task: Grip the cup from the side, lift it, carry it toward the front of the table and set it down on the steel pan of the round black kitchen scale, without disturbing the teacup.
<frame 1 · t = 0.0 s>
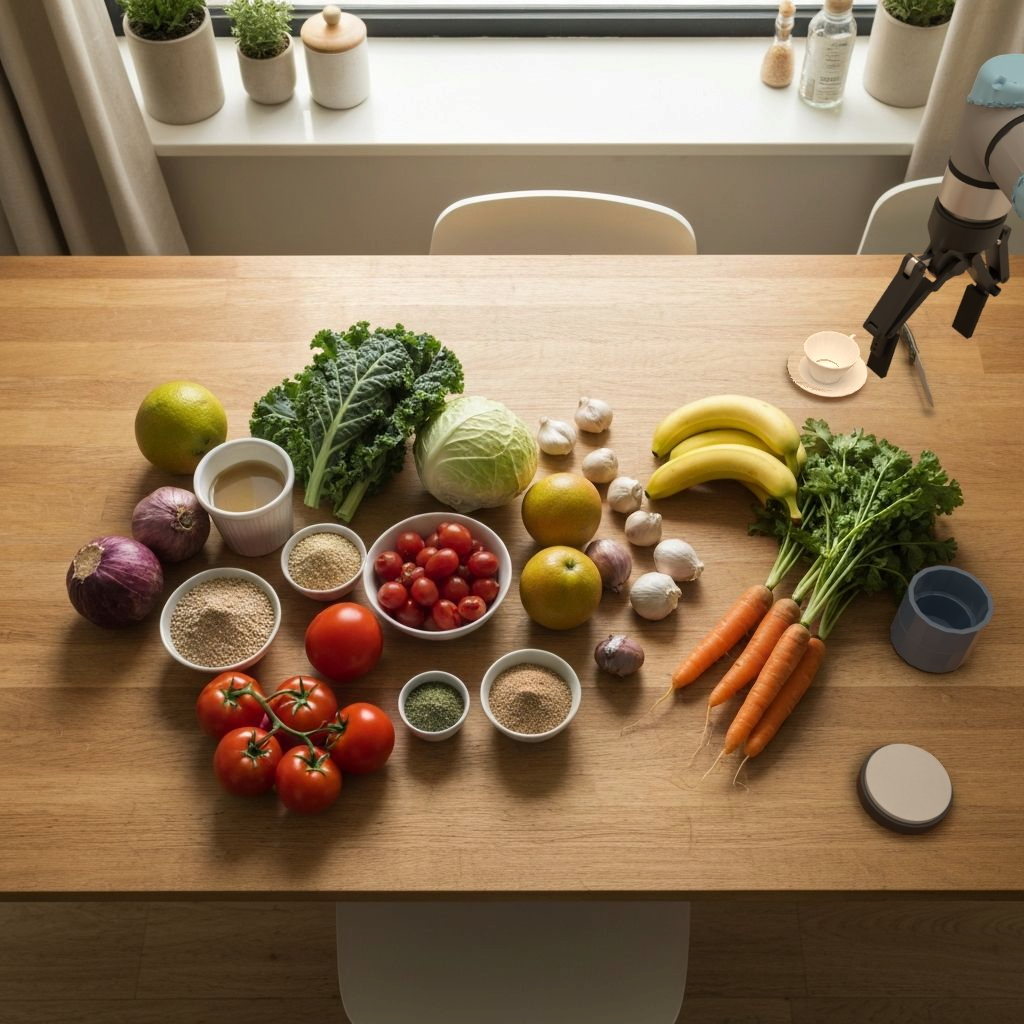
hand: (919, 351, 131), 25 cm above the table, tool pointing down, fingers open, 13 cm apart
teacup: (824, 376, 164), on the table
cup: (928, 641, 134), on the table
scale: (901, 792, 122), on the table
knife: (913, 370, 165), on the table
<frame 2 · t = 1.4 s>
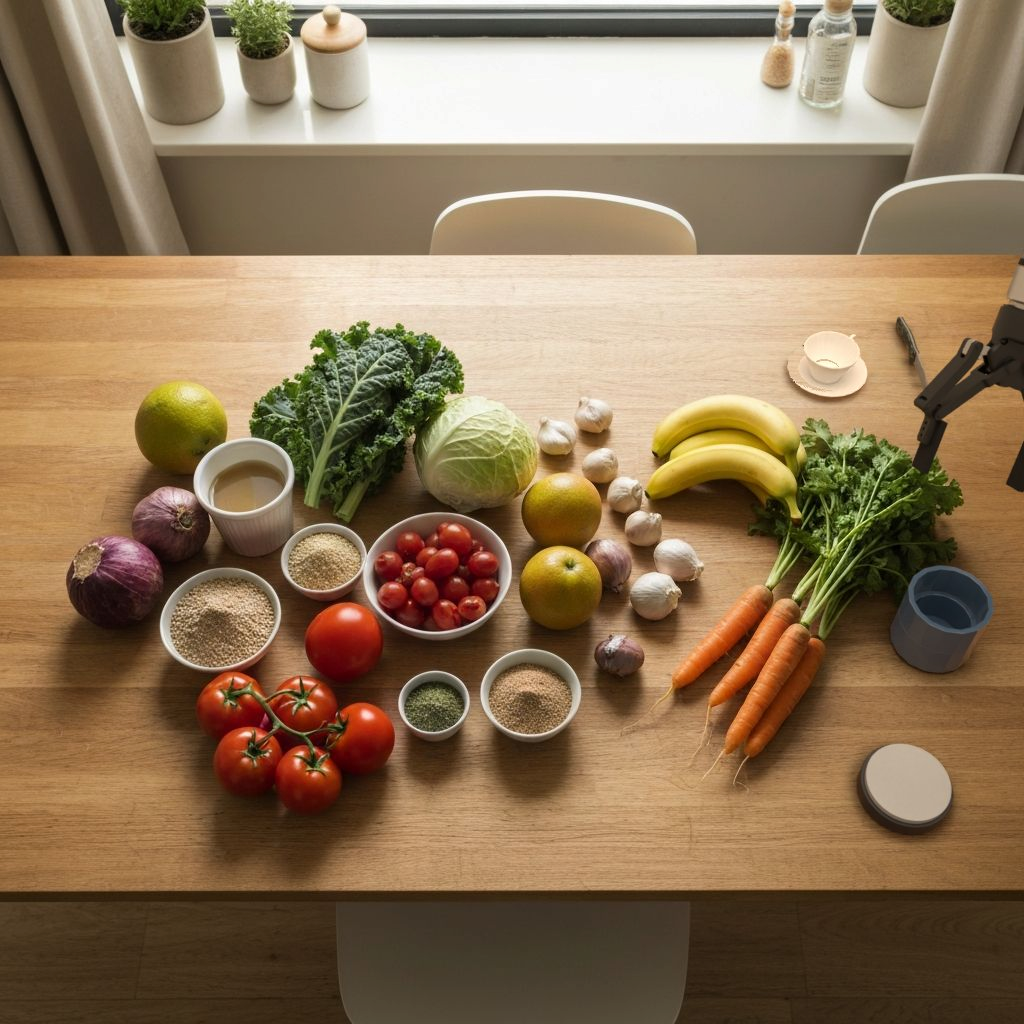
hand: (967, 479, 132), 14 cm above the table, tool tilted 35°, fingers open, 13 cm apart
nothing on the table moved.
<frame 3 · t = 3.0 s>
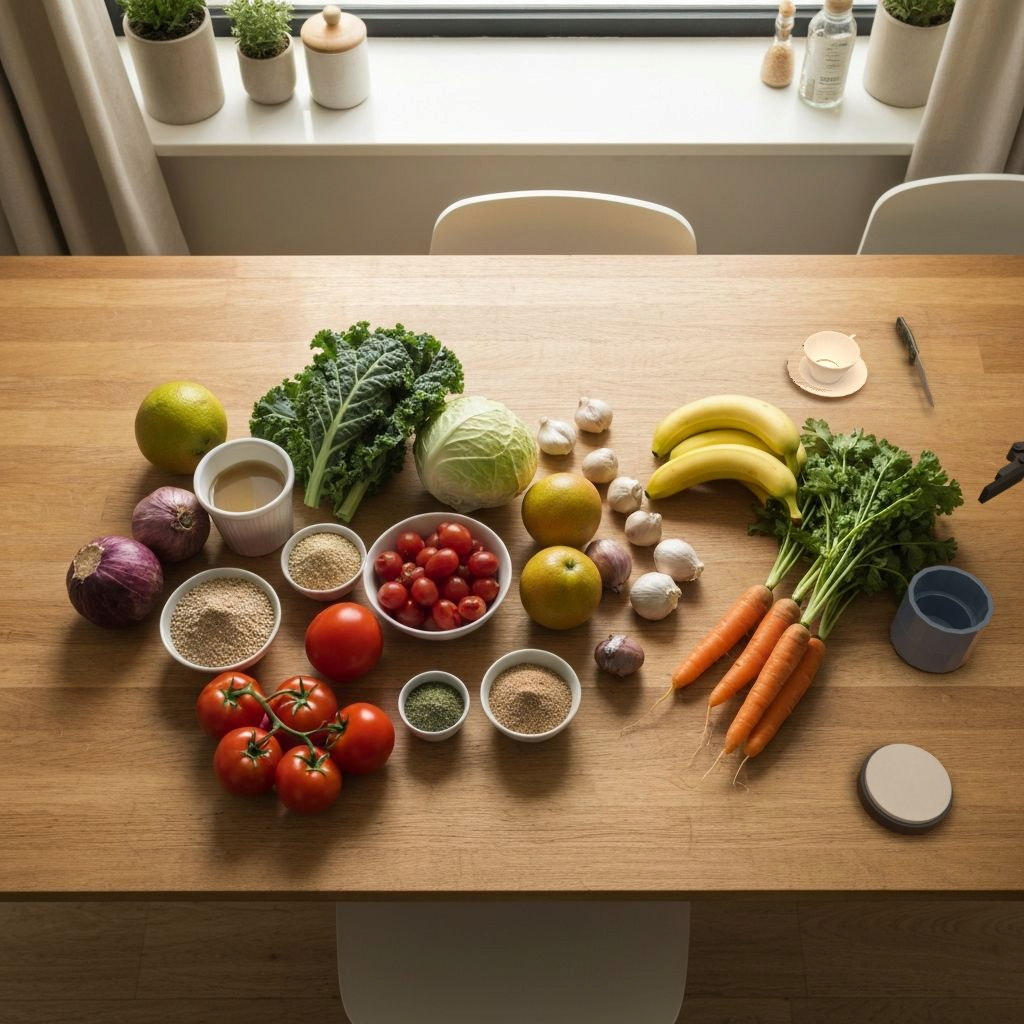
nothing on the table moved.
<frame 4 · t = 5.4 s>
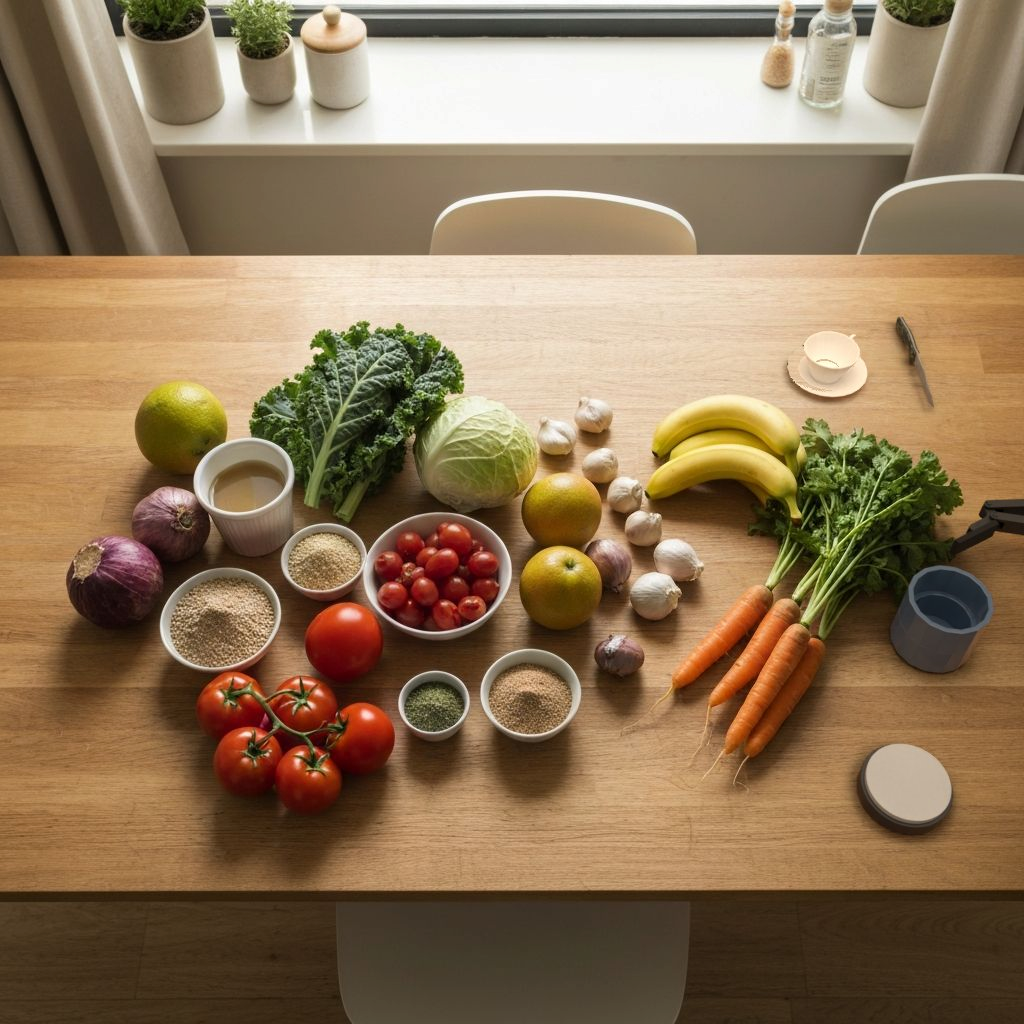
hand: (992, 587, 131), 6 cm above the table, tool horizontal, fingers open, 13 cm apart
nothing on the table moved.
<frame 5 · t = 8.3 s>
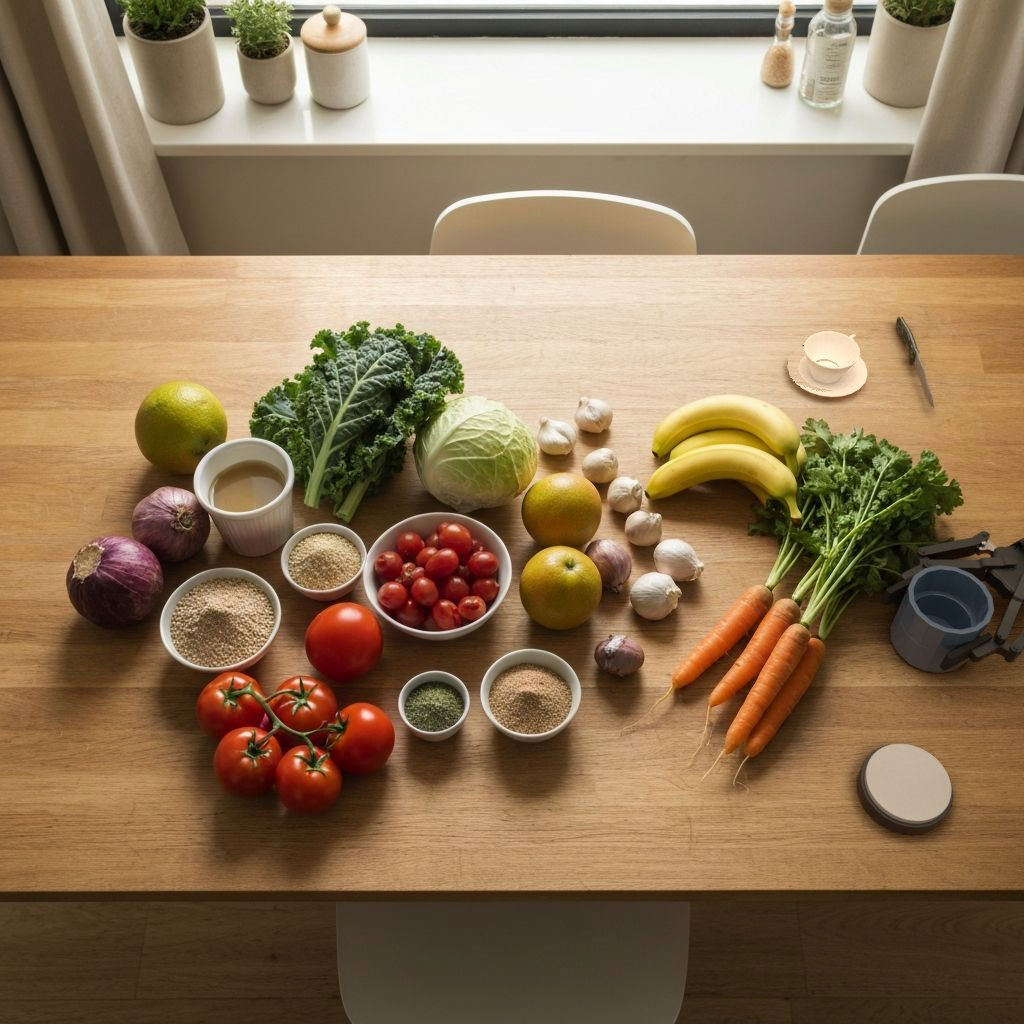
hand: (914, 629, 128), 6 cm above the table, tool horizontal, fingers closed on cup, 10 cm apart
cup: (928, 641, 134), on the table, touching gripper
everything else where it was.
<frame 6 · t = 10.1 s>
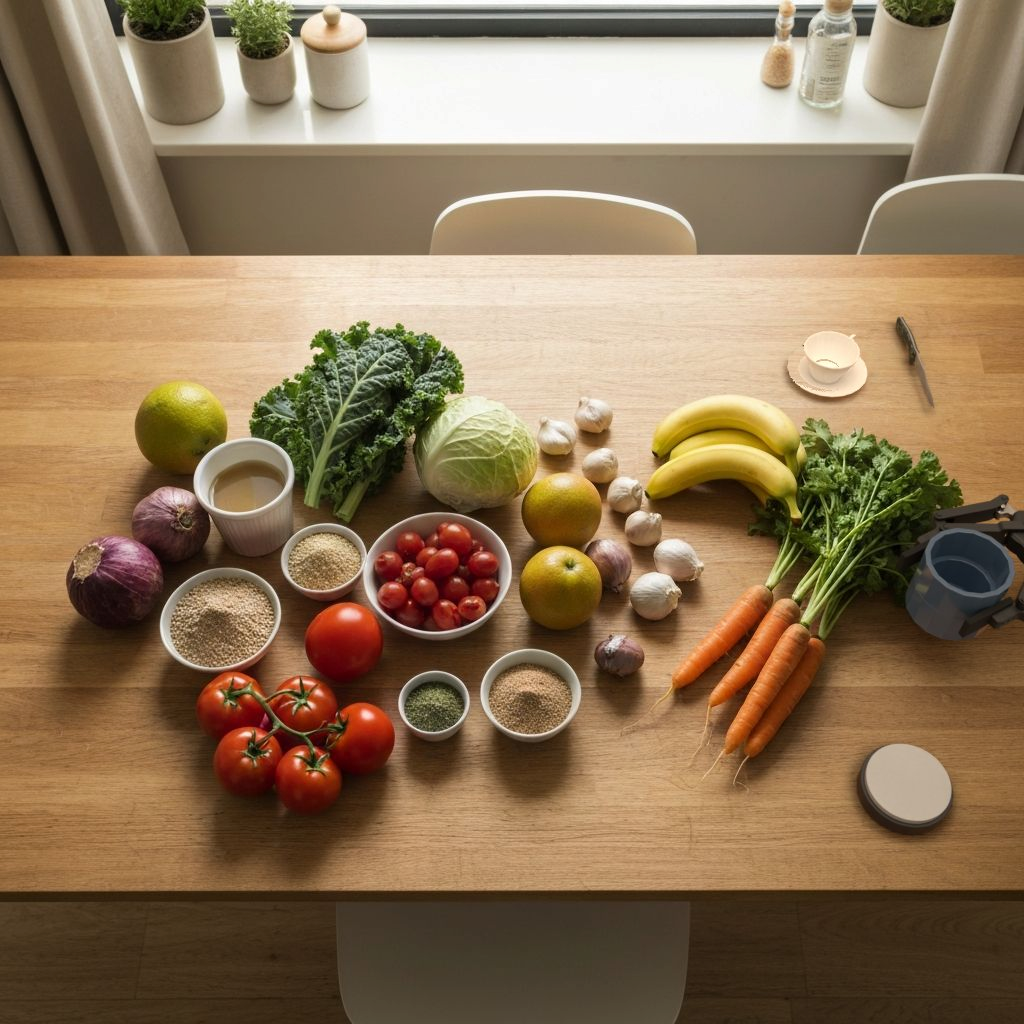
hand: (931, 594, 122), 13 cm above the table, tool horizontal, fingers closed on cup, 10 cm apart
cup: (945, 609, 128), point 7 cm above the table, touching gripper
everything else where it was.
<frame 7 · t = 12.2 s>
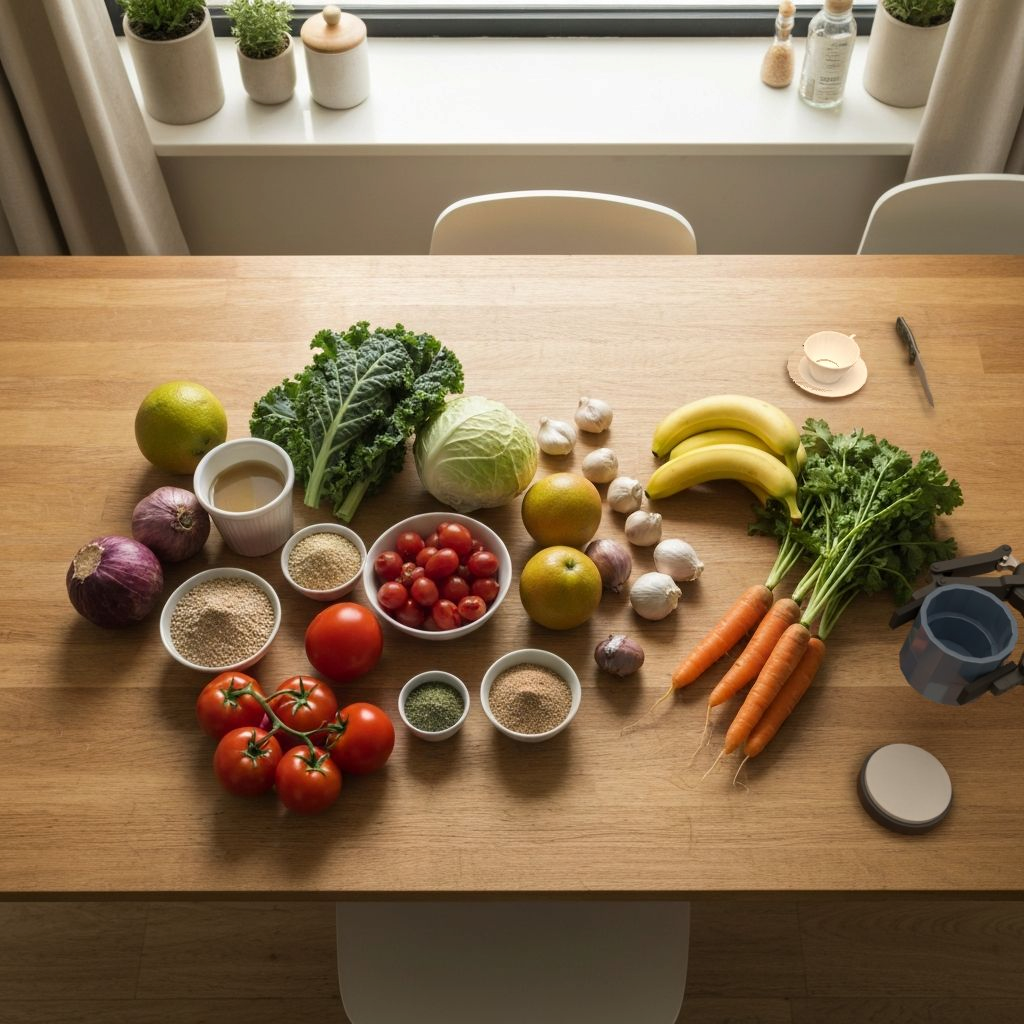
hand: (927, 657, 112), 18 cm above the table, tool horizontal, fingers closed on cup, 10 cm apart
cup: (942, 669, 118), point 12 cm above the table, touching gripper
everything else where it was.
when the fingers open (9 cm above the table, at t = 16.4 s): cup stays where it is, resting on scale.
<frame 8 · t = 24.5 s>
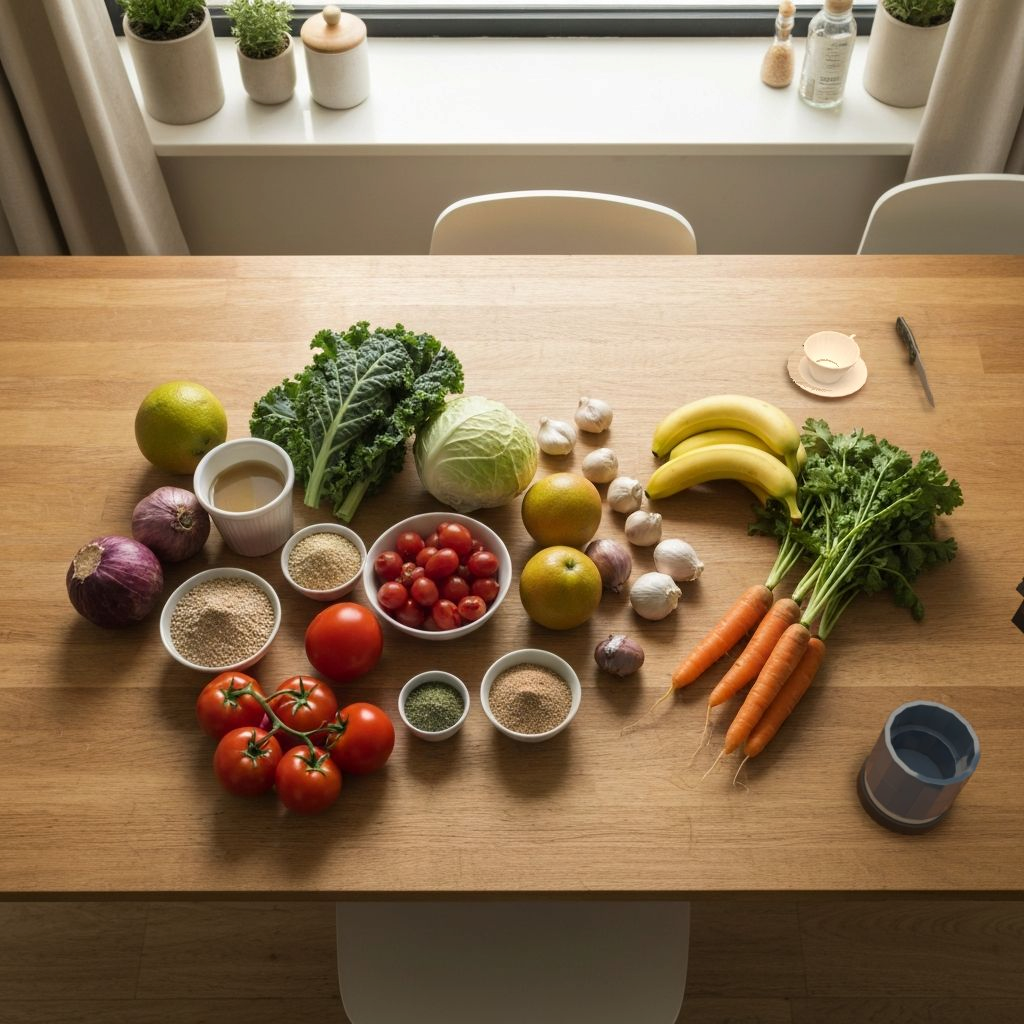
cup: (908, 780, 120), point 3 cm above the table, touching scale
everything else where it was.
at the end: cup 0.1 cm off-centre on the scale, point 3.0 cm above the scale's base; cup tilted 0°; teacup moved 0.2 cm from its start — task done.
